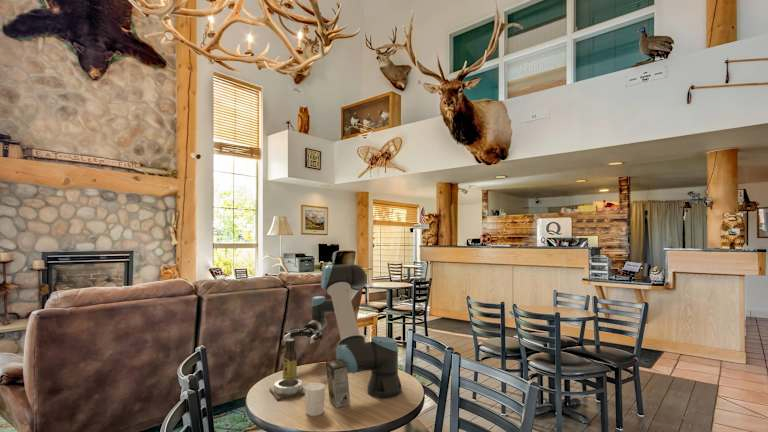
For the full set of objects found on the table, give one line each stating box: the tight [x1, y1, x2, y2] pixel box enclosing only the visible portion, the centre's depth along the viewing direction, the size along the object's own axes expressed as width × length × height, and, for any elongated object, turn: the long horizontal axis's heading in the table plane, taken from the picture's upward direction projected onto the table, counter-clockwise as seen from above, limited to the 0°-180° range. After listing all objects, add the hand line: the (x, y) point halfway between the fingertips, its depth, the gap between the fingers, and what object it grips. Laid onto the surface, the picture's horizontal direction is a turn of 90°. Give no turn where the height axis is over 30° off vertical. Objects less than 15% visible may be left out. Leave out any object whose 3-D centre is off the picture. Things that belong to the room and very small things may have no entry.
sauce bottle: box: [282, 338, 298, 379], centre depth 191 cm, size 6×6×20 cm
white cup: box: [304, 382, 326, 417], centre depth 160 cm, size 8×8×10 cm
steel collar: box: [273, 377, 303, 395], centre depth 179 cm, size 12×12×3 cm
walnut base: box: [269, 386, 305, 402], centre depth 179 cm, size 13×13×1 cm
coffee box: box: [325, 359, 351, 409], centre depth 169 cm, size 9×6×16 cm
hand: (297, 339), depth 202 cm, fingers open, 13 cm apart
